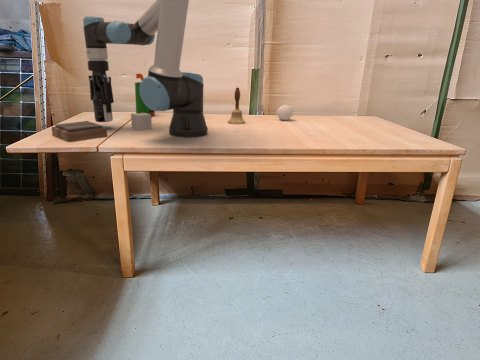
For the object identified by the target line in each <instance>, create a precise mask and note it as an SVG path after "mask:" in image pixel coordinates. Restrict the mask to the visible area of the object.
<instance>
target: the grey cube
mask: <svg viewBox="0 0 480 360" xmlns="http://www.w3.org/2000/svg"><path fill="white" fill-rule="evenodd" d="M130 115H131V117H130V118H131V128H132V129H133V130H135V131H147V130H153V128H152V127H153V125H152V124H153V123H152V122H153V121H152V117H151V115H150V114H147V113H136V112H135V113H131V114H130Z"/></svg>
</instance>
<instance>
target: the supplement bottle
mask: <svg viewBox="0 0 480 360" xmlns="http://www.w3.org/2000/svg"><path fill="white" fill-rule="evenodd" d="M94 93H95V98H94V99H93V100H92V107H93V113H94V121H95V122H97V123H108V122H109V123H110V121H105V117H104V108H103V103H104V100H103V97H102V93H101V90H99V91H94ZM112 107H113V106H111V114H112V121H113V111H112Z"/></svg>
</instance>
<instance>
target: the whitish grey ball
mask: <svg viewBox="0 0 480 360" xmlns="http://www.w3.org/2000/svg"><path fill="white" fill-rule="evenodd" d="M293 110H294V109H293V107H292V106H291V105H288V104H283V105H282V106H281V105H280V106H279V107H278V109H277V110H276V115H277V118H279V120H281V121H288V120H290V119H291V118H292V116H293V115H294V114H293V113H294V112H293Z"/></svg>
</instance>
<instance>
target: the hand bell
mask: <svg viewBox="0 0 480 360" xmlns="http://www.w3.org/2000/svg"><path fill="white" fill-rule="evenodd" d="M240 99H241V90H240V87H235V91H234V101H235V104H234V105H235V107H234V110H232V111H231V117H230V118H229V120H227V123H228V124H231V125H243V124H246V121H245V119H244V117H243V112H242V110H240Z"/></svg>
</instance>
